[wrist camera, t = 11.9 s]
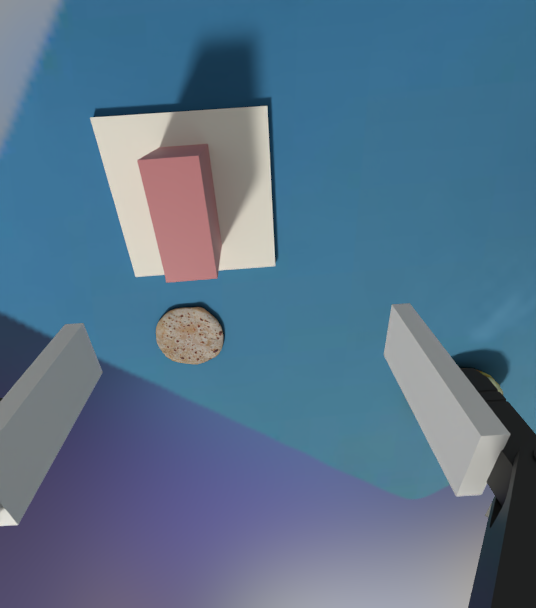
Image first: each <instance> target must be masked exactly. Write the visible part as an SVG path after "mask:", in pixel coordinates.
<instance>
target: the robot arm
mask: <svg viewBox="0 0 536 608" xmlns="http://www.w3.org/2000/svg"><path fill="white" fill-rule="evenodd" d="M384 356H385V358H386V360H387V362H388V364H389V366H390V368H391V370H392V372H393V374H394V376H395V378H396V380H397V382H398V384H399V386H400V388H401V390H402V392H403V394H404V395H405V397H406V399H407V401H408V403H409V405H410V407H411V409H412V411H413V413H414V415H415V417H416V419H417V421H418V423H419V425H420V427H421V429H422V431H423V433H424V435H425V436H426V438H427V440H428V442H429V444H430V446H431V448H432V450H433V452H434V454H435V456H436V458H437V460H438V462H439V464H440V466H441V468H442V470H443V472H444V474H445V476H446V478H447V479H448V481H449V483H450V485H451V487H452V489H453V491H454V493H455V495H456V496H470V495H482V493H483V491H484V489H485V486H486V484H487V483H488V485H489V486H490V488H491V490H492V491H493V493H494V495H495V497H494V499H493V501H492V503H491V505H490V507H489V509H488V511H487V513H486V515H485V516H486V517H488V522H487V527H486V532H485V536H484V540H483V545H482V549H481V553H480V558H479V562H478V567H477V571H476V576H475V580H474V584H473V589H472V593H471V598H470V602H469V606H468V608H536V434H535V433H534V432H533V431H532V429H531V428H530V427H529V426H528V425H527V423H526V422H525V421H524V420H523V419H522V418H521V416H520V415H519V414H518V413H517V412H516V410H515V409H514V408H513V407H512V406H511V405H510V403H509V402H506V399H505V397H504V396H503V395H502V394H501V393H500V392H498V389H497V388H496V387H495V386H494V384H493V383H492V382H491V381H490V380H489V379H488V378H487V377H486V376H485V375H483V374H482V373H480V372H479V371H477V370H476V369H474V368H464V369H460V368H459V367H458V365H457V364H456V363H455V361H454V360H453V359H452V358H451V356H450V355H449V354H448V352H447V351H446V350H445V348H444V347H443V346H442V345H441V343H440V342H439V341H438V339H437V338H436V337H435V335H434V334H433V333H432V332H431V330H430V329H429V328H428V326H427V325H426V324H425V322H424V321H423V320H422V319H421V317H420V316H419V315H418V313H417V312H416V311H415V310H414V308H413V307H412V306H411V304H410V303H408V304H392V307H391V313H390V319H389V326H388V332H387V338H386V344H385V350H384ZM101 374H102V370H101V367H100V365H99V362H98V359H97V357H96V354H95V352H94V349H93V347H92V344H91V342H90V339H89V337H88V334H87V332H86V329H85V327H84V324H83V323H79V324H65V325H64V326H63V327H62V329H61V330H60V331H59V332H58V333H57V335H56V336H55V337H54V338H53V339H52V341H51V342H50V343H49V344H48V345H47V346H46V348H45V349H44V350H43V351H42V353H41V354H40V355H39V356H38V357H37V359H36V360H35V361H34V362H33V363H32V365H31V366H30V367H29V368H28V369H27V370H26V371H25V373H24V374H23V375H22V376H21V378H20V379H19V380H18V381H17V382H16V383H15V385H14V386H13V387H12V388H11V389H10V391H9V392H8V393H7V394H6V395H5V397H4V398H0V526H8V525H18V524H19V522H20V520H21V519H22V517H23V515H24V513H25V512H26V510H27V508H28V506H29V504H30V503H31V501H32V499H33V497H34V495H35V493H36V491H37V490H38V488H39V486H40V484H41V482H42V481H43V479H44V477H45V475H46V473H47V472H48V470H49V468H50V466H51V464H52V463H53V461H54V459H55V457H56V456H57V454H58V452H59V450H60V448H61V447H62V445H63V443H64V441H65V439H66V437H67V436H68V434H69V432H70V430H71V428H72V427H73V425H74V423H75V421H76V419H77V418H78V416H79V414H80V412H81V410H82V409H83V407H84V405H85V403H86V401H87V400H88V398H89V396H90V394H91V392H92V390H93V389H94V387H95V385H96V383H97V382H98V380H99V378H100V376H101Z"/></svg>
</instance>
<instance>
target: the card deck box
mask: <svg viewBox="0 0 536 608" xmlns="http://www.w3.org/2000/svg"><path fill="white" fill-rule="evenodd" d="M137 162H138V166H139V170H140V174H141V178H142V182H143V187H144V191H145V195H146V199H147V203H148V207H149V212H150V216H151V220H152V224H153V228H154V232H155V236H156V241H157V245H158V249H159V253H160V257H161V261H162V266H163V270H164V274H165V278H166V282H179V281H192V280H204V279H216V278H217V277H218V270H219V263H220V256H221V249H222V243H221V235H220V228H219V221H218V213H217V206H216V199H215V192H214V184H213V177H212V170H211V162H210V155H209V148H208V144H197V145H183V146H169V147H159V148H157V149H156V150H154V151H152V152H150V153H149V154H147V155H145V156H143V157H142V158H140V159H138V160H137Z"/></svg>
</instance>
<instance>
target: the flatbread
mask: <svg viewBox="0 0 536 608" xmlns="http://www.w3.org/2000/svg"><path fill="white" fill-rule="evenodd" d="M156 338H157V344H158V346H159V347H160V349H161V350H162V352H163V353H164V354H165V355H166V357H168V358H169V359H171V360H172V361H176V362H180V363H187V364H200V363H204V362H206V361H208V360H210V359H212V358H214V357H215V356H217V355H218V354H219V352H220V351H221V349H222V345H223V331H222V327H221V325H220V324H219V322H218V320H217V319H216V318H215V317H214V316H213V315H211V314H210V313H209V312H208V311H207V310H205V309H204V308H201V307H186V308H185V307H184V308H177V309H173V310H170V311H168V312H167V313H166V314H165V315H164V316H163V317H162V318H161V319H160V321H159V322H158V324H157V327H156Z"/></svg>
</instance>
